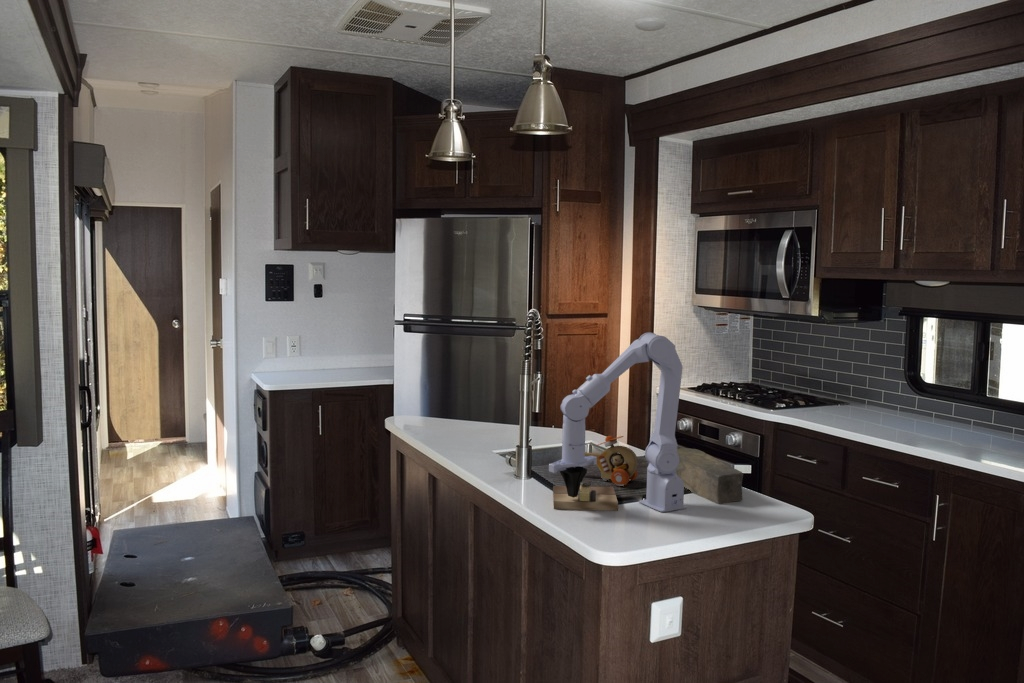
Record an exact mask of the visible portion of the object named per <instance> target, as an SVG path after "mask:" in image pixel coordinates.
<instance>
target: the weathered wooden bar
mask: <svg viewBox="0 0 1024 683" xmlns="http://www.w3.org/2000/svg"><path fill="white" fill-rule="evenodd" d="M677 453H678V456H679V466H678V468H677V469H676V474H677V476H678V477H679V478H681V479H682V481H683V483H684V487H685V488H687V489H689V490H690V491H691V492H690V491H689V492H690V493H693V494H695V495H697V496H699V497H701V498H702V499H703V498H704V499H705V500H708V501H710V502H712V503H715V504H717V505H722V504H727V503H732V502H741V501H743V500H744V498H743V478H744V473H743V472H742V471H740V470H739V469H737V468H734V467H732V466H730V465H728V464H726V463H724V462H722V461H721V460H719V459H717V458H715V457H714V456H712V455H710V454H708V453H706V452H705V451H702V450H700V449H696V448H689V447H688V448H687V447H686V448H685V447H684V448H683V447H681V448H677Z"/></svg>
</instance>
